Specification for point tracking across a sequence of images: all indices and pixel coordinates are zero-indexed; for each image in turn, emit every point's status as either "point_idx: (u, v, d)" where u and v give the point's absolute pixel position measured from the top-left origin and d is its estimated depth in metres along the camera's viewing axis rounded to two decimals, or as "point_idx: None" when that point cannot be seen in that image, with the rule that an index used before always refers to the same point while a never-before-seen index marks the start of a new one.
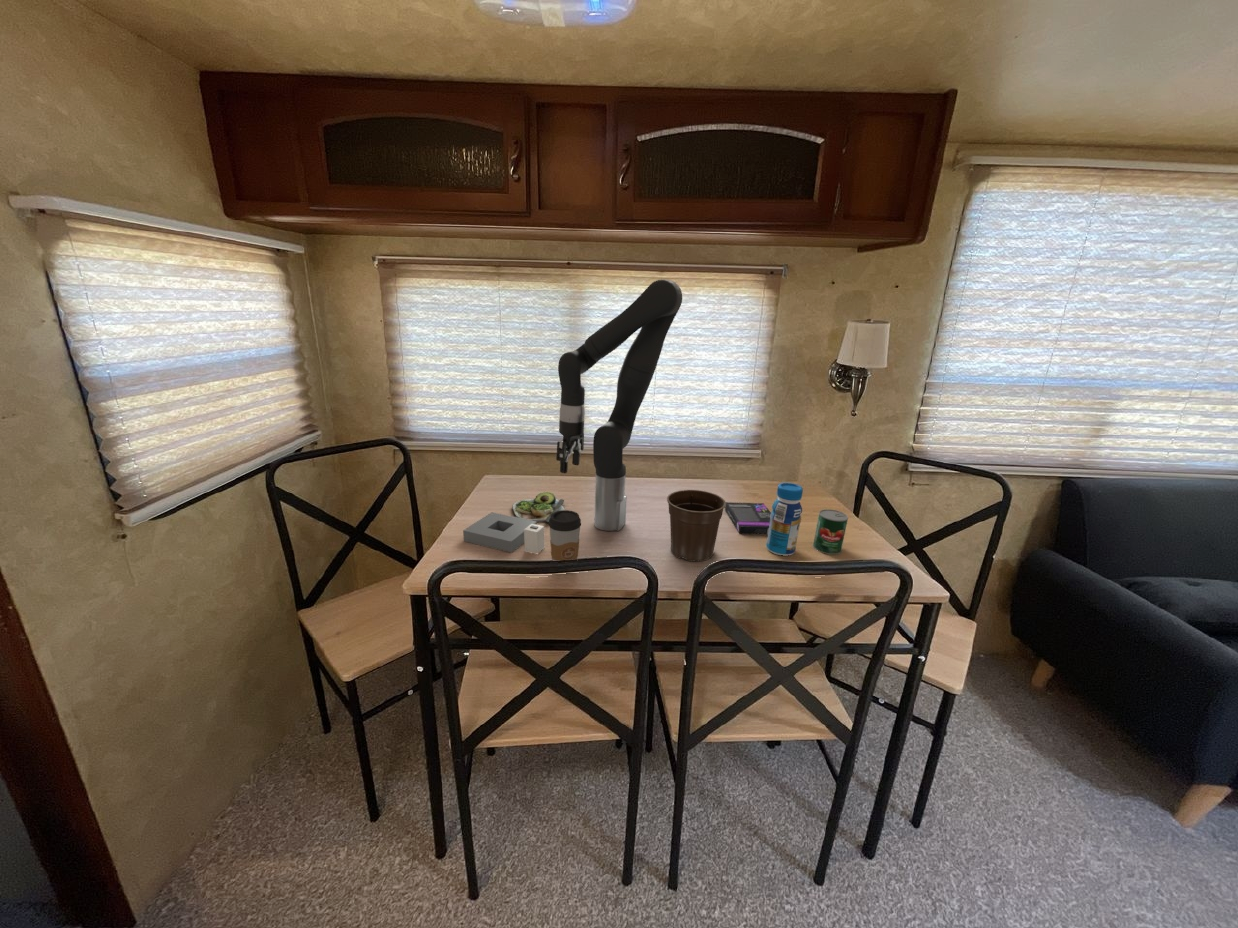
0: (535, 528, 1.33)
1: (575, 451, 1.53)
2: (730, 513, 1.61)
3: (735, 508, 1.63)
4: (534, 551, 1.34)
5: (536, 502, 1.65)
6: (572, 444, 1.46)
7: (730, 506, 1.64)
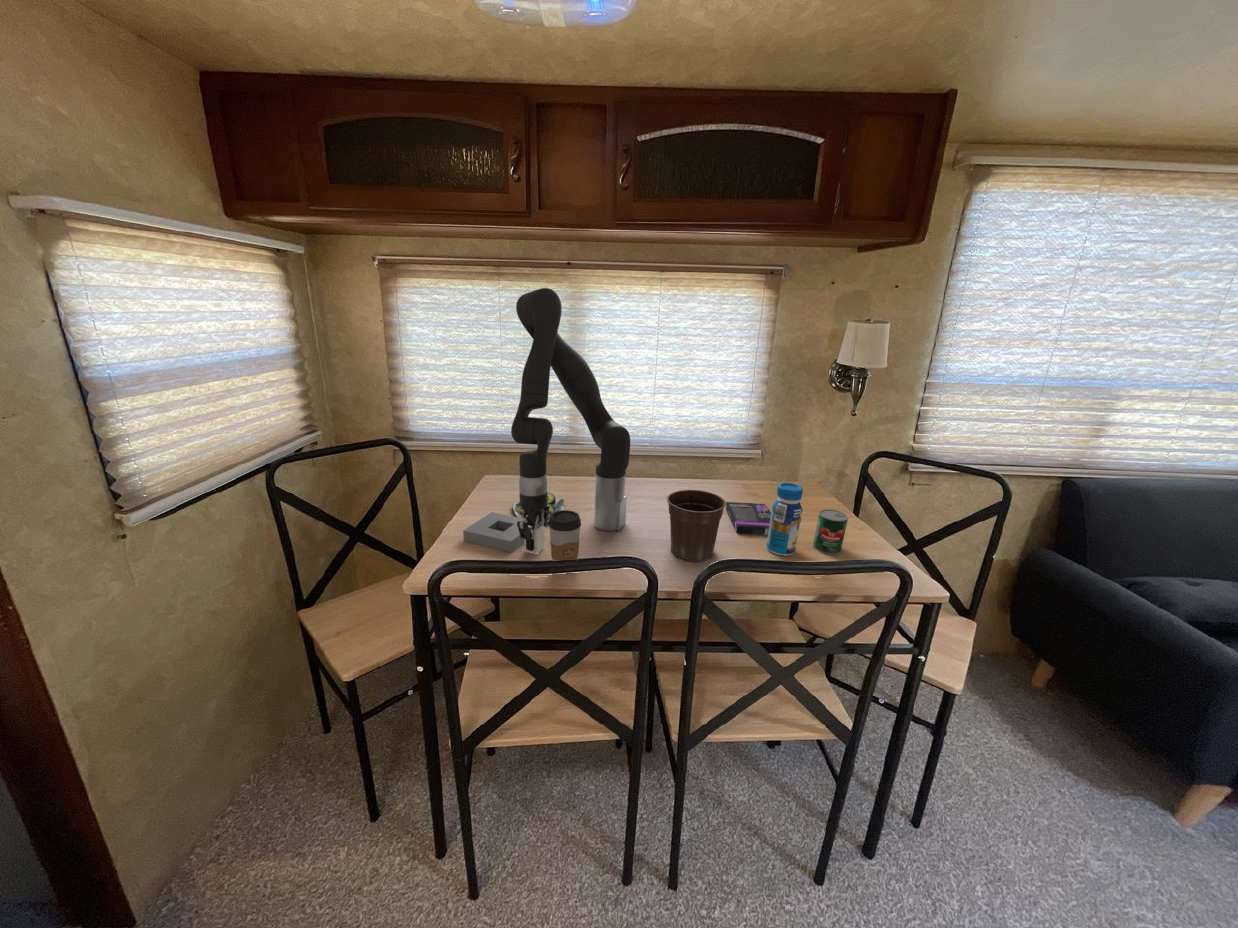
0: None
1: None
2: (730, 513, 1.61)
3: (736, 508, 1.63)
4: (534, 551, 1.34)
5: None
6: (535, 519, 1.31)
7: (731, 506, 1.65)
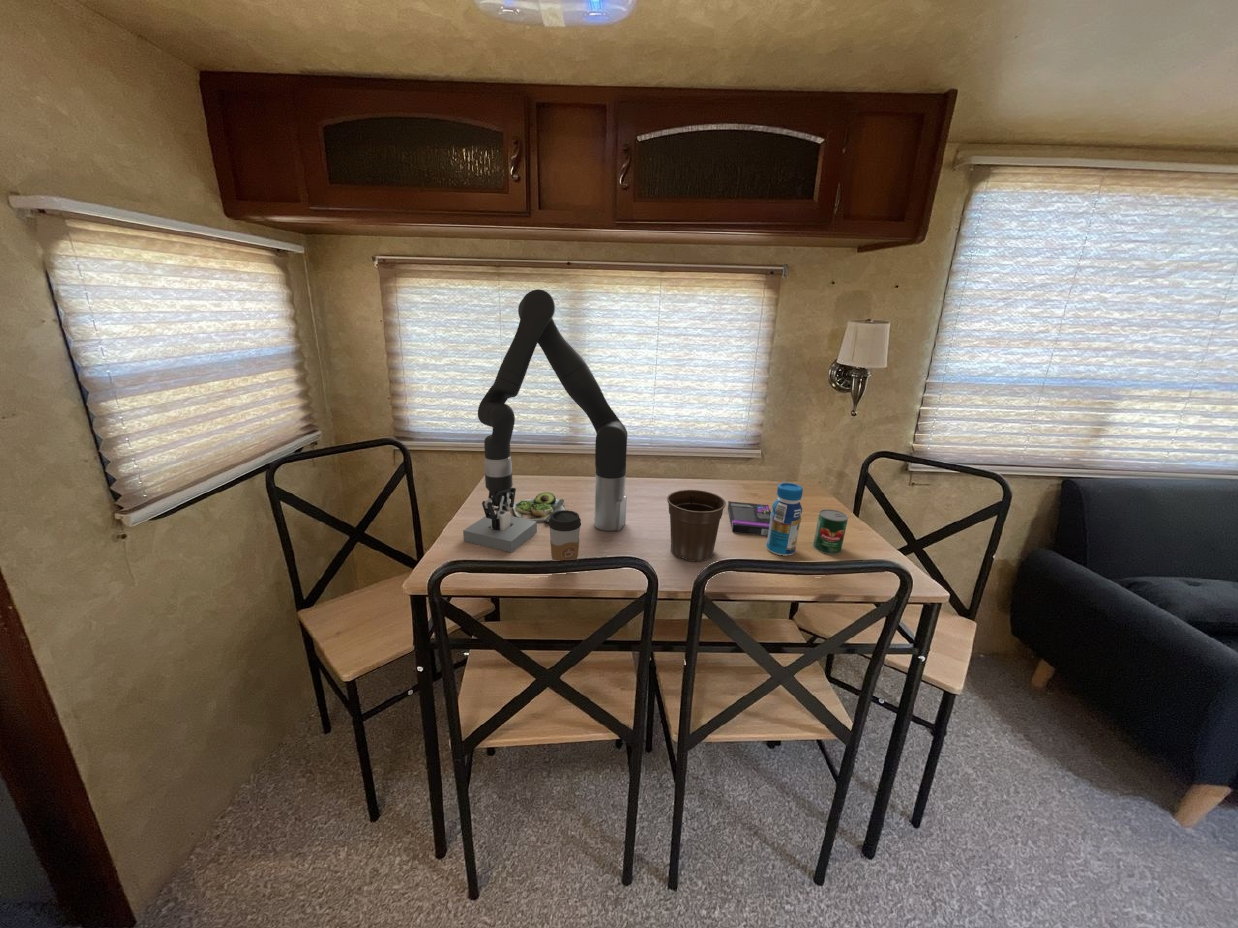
0: (501, 513, 1.40)
1: (503, 509, 1.43)
2: (729, 512, 1.62)
3: (736, 507, 1.63)
4: None
5: (536, 502, 1.65)
6: (500, 500, 1.37)
7: (732, 505, 1.65)
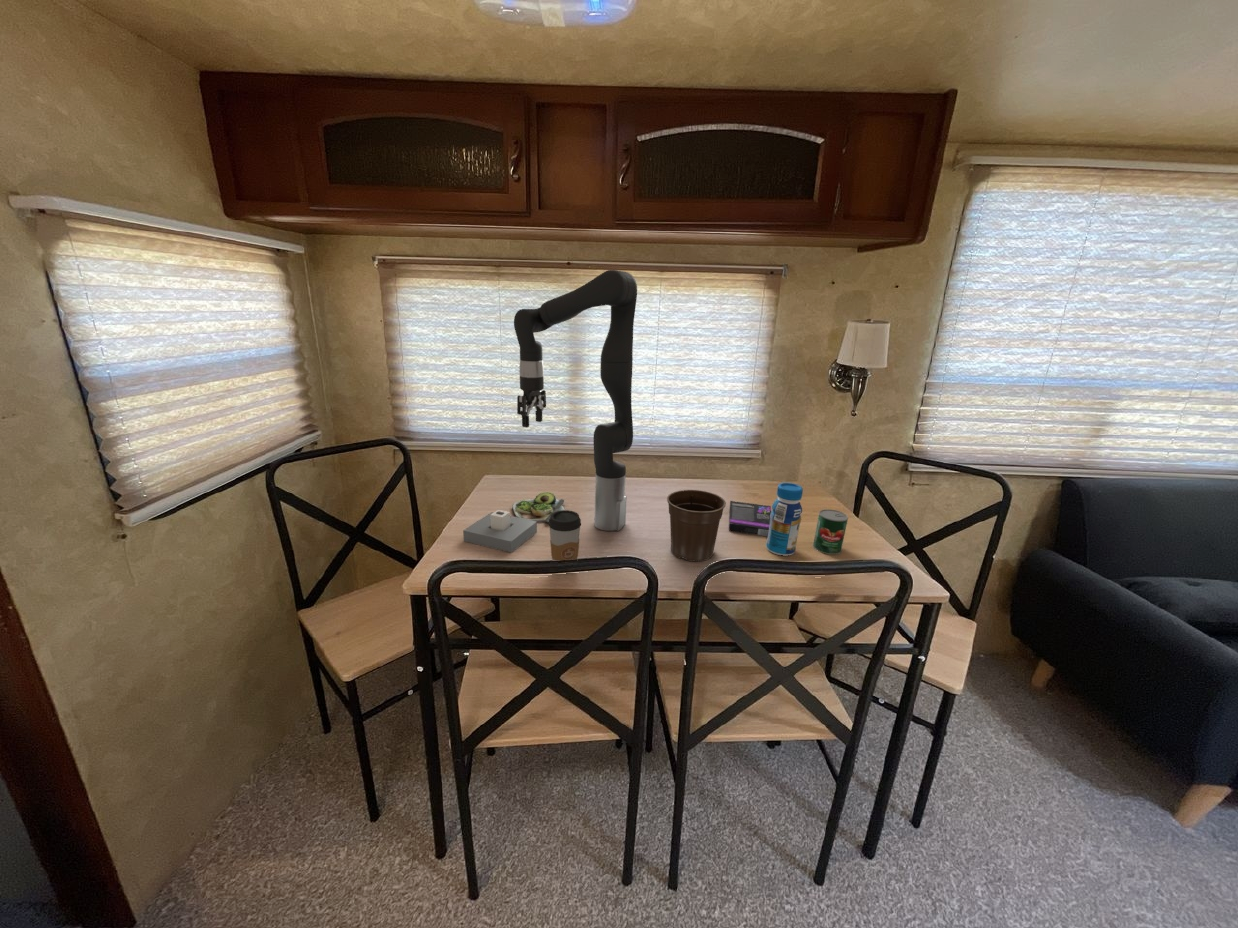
0: (501, 514, 1.40)
1: (538, 408, 1.61)
2: None
3: (737, 507, 1.64)
4: None
5: (536, 502, 1.65)
6: (532, 399, 1.53)
7: (732, 505, 1.65)
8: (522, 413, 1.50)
